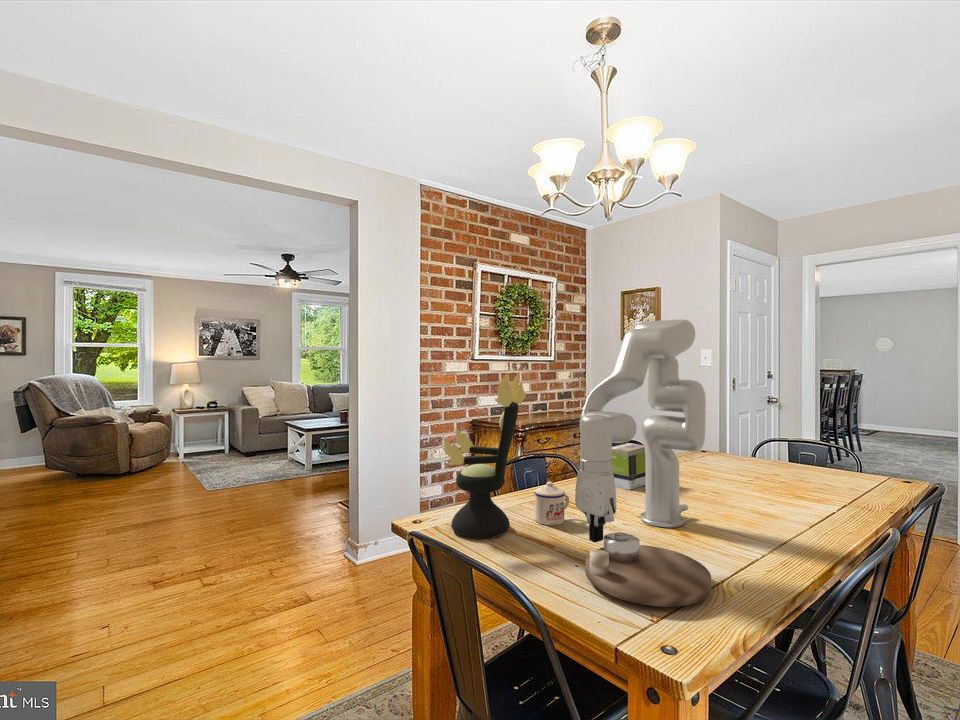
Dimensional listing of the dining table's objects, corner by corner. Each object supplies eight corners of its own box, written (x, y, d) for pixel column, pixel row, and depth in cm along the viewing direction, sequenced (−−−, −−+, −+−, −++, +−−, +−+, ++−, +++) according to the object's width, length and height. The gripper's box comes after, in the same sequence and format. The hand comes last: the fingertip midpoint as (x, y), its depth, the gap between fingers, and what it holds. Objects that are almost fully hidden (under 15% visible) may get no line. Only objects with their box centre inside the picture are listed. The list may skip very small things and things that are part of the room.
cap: (620, 546, 119) (620, 526, 119) (647, 558, 112) (647, 536, 112) (596, 554, 115) (596, 532, 115) (622, 566, 108) (622, 543, 108)
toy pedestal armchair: (454, 517, 151) (453, 371, 151) (526, 519, 149) (526, 371, 148) (443, 540, 132) (443, 373, 132) (526, 543, 130) (525, 373, 129)
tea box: (629, 478, 197) (628, 442, 197) (651, 483, 189) (651, 445, 189) (606, 485, 187) (606, 446, 187) (629, 490, 180) (629, 450, 179)
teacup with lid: (547, 528, 141) (547, 488, 141) (528, 519, 149) (528, 481, 149) (578, 520, 147) (578, 482, 147) (558, 512, 155) (558, 475, 155)
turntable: (665, 548, 123) (665, 524, 123) (740, 599, 97) (740, 568, 97) (568, 557, 118) (567, 532, 118) (619, 613, 92) (619, 581, 92)
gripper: (564, 462, 124) (564, 534, 125) (607, 474, 112) (607, 554, 112) (586, 458, 128) (586, 528, 129) (630, 470, 116) (630, 547, 116)
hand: (596, 540), depth 120 cm, fingers closed
